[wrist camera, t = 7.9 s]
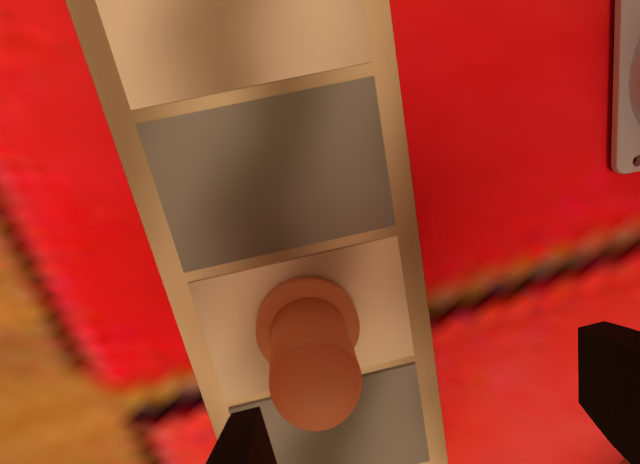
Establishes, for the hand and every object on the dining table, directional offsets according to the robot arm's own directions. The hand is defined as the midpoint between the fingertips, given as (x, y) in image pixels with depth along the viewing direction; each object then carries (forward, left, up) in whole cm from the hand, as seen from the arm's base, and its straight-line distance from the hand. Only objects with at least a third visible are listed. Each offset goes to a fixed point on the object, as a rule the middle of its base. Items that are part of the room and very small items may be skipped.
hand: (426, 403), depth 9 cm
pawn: (+2, +2, -9) cm, 9 cm away
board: (+2, -1, -10) cm, 10 cm away
